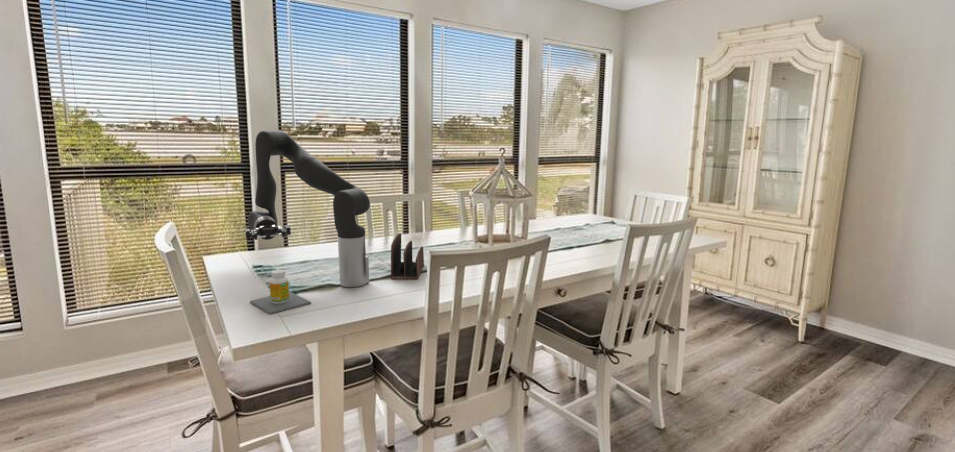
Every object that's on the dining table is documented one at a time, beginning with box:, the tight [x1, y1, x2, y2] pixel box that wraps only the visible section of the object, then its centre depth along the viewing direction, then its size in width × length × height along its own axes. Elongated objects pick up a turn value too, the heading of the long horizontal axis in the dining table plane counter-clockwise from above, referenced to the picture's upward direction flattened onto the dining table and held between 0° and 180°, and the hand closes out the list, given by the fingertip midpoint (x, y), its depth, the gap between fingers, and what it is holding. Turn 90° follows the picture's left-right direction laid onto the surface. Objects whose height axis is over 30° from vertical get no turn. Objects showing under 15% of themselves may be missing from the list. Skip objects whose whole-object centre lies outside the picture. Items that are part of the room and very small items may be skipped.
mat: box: [249, 290, 312, 315], centre depth 157 cm, size 13×14×1 cm
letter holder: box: [390, 233, 425, 281], centre depth 190 cm, size 10×20×14 cm, turn 0°
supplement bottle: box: [269, 269, 290, 304], centre depth 156 cm, size 5×5×10 cm
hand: (269, 235), depth 167 cm, fingers open, 8 cm apart
